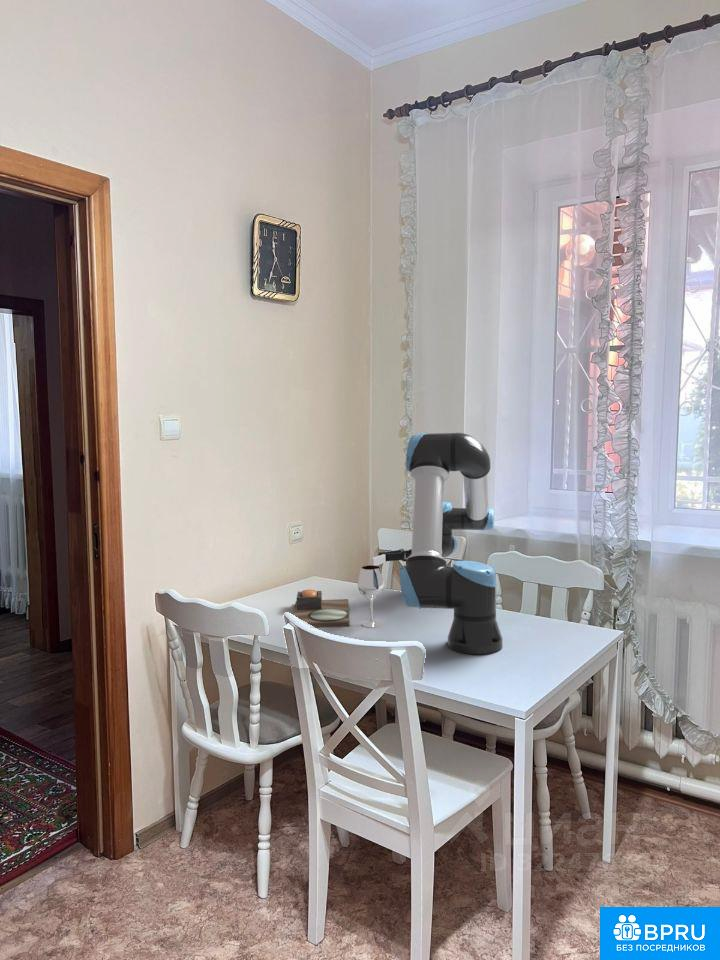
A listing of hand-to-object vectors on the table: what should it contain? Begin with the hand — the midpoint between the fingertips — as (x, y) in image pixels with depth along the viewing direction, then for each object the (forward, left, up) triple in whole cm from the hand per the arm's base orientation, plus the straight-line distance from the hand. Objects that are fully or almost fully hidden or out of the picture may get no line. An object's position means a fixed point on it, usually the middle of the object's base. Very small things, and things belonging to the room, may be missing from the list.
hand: (389, 565), depth 228 cm
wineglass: (-8, +6, -17) cm, 20 cm away
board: (+4, +22, -17) cm, 28 cm away
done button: (+10, +26, -14) cm, 31 cm away
